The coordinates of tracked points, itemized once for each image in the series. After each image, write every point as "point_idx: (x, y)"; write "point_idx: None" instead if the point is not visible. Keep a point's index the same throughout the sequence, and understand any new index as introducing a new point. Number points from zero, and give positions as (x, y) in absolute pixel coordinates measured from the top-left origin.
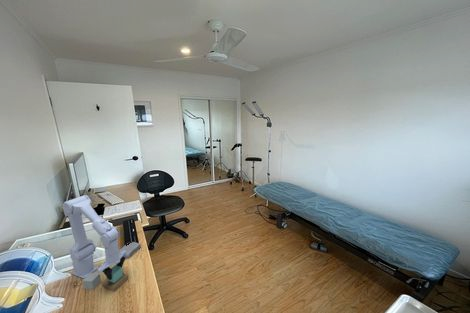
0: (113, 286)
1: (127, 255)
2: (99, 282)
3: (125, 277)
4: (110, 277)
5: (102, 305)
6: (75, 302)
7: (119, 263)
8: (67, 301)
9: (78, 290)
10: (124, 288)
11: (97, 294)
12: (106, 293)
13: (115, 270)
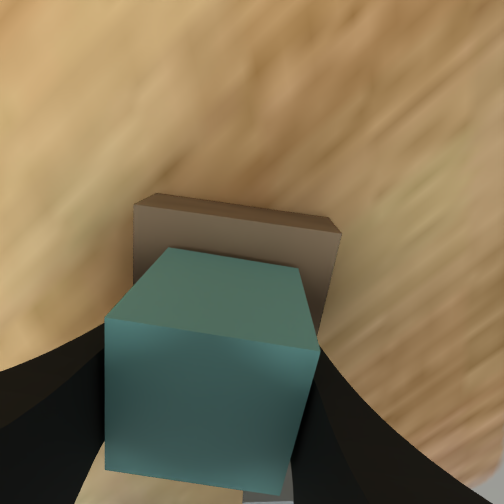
0: (332, 246)
1: None
2: None
3: (171, 207)
4: (327, 358)
5: (491, 212)
6: (454, 435)
7: (54, 444)
8: None
9: None
10: (274, 135)
11: (375, 343)
12: (357, 277)
13: (214, 384)
